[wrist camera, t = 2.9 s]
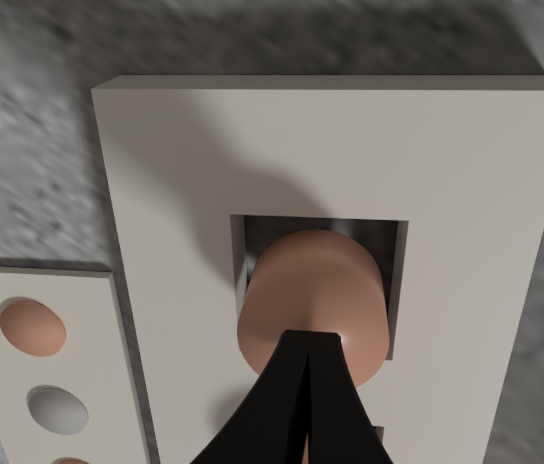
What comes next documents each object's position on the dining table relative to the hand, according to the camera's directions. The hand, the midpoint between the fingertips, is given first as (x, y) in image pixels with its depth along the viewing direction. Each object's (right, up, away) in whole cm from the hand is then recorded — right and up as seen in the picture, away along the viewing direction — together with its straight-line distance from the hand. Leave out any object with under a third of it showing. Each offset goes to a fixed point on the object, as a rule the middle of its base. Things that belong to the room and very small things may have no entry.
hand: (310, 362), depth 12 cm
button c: (0, +2, +3) cm, 3 cm away
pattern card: (-10, -4, +9) cm, 15 cm away
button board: (+1, -5, +8) cm, 9 cm away
